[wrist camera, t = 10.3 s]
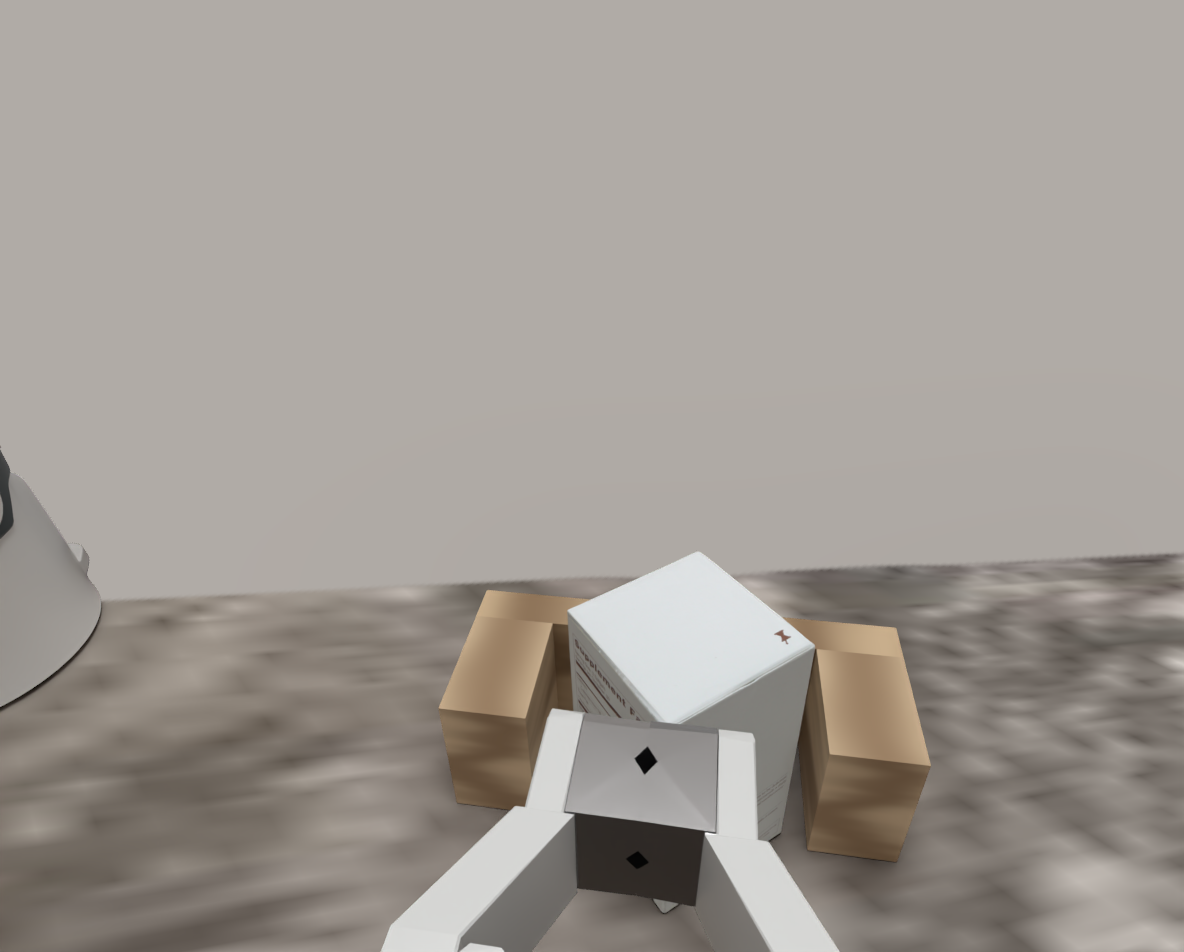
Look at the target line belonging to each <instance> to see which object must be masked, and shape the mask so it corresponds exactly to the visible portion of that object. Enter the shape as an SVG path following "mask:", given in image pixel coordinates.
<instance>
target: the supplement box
mask: <svg viewBox="0 0 1184 952" xmlns="http://www.w3.org/2000/svg"><path fill="white" fill-rule="evenodd" d="M567 616H568V631H569V650H570V664H571V680H572V694H573V711H577V712H584V713H591V714H597V715H604V716H611V717H617V718H624V719H631V720H637V721H644V722H651V721H656V722H665V723H674V724H683V725H693V726H702V727H711V728H717V731H718V730H719V729H721V730H729V731H738V732H747V733H752V734H753V736H754V739H755V752H756V785H757V819H758V840H762V841H767V842H768V841H769V840H770V839H772V838H773V837H775V836H776V835H777V834H779V833H781V831H782V824H783V819H784V813H785V808H786V803H787V797H788V792H789V786H790V781H791V775H792V770H793V765H794V759H795V754H796V749H797V743H798V738H799V732H800V727H801V721H802V716H803V711H804V706H805V700H806V694H807V689H808V684H809V678H810V673H811V667H812V662H813V657H814V651H815V645H814V644H813V643H812V642H810V641H809V640H808V639H807V638H805V637H804V636H803V635H802V634H801V633H800V632H799V631H797V630H796V629H795V628H794V627H793V626H791V625H790V624H789V623H788V622H787V621H785V620H784V619H783V618H782V617H781V616H779V615H778V614H777V613H776V612H774V611H773V610H772V609H771V608H769V607H768V606H767V605H766V604H764V603H763V602H762V601H761V600H760V599H758V598H757V597H756V596H755V595H753V594H752V593H751V592H750V591H748V590H747V589H746V588H745V587H744V586H742V585H741V584H740V583H739V582H737V581H736V580H735V579H734V578H732V577H731V576H730V575H729V574H727V573H726V572H725V571H724V570H722V569H721V568H720V567H719V566H718V565H716V564H715V563H714V562H713V561H711V560H710V559H709V558H707V557H706V556H705V555H703V554H702V553H701V552H695V553H693V554H691V555H688V556H686V557H684V558H682V559H680V560H678V561H675V562H673V563H671V564H669V565H667V566H665V567H662V568H660V569H658V570H656V571H653V572H651V573H649V574H647V575H644V576H642V577H640V578H638V579H636V580H633V581H631V582H629V583H627V584H624V585H622V586H620V587H618V588H616V589H613V590H611V591H609V592H607V593H605V594H602V595H600V596H598V597H595V598H593V599H591V600H589V601H586V602H584V603H582V604H580V605H577V606H575V607H573V608H571V609H569V610H567ZM653 900H654V902H655V903H656V905H657V906H658V907H659V909H660V910H661V911H662V912H663V913H666V912H668V911H669V910H671V909H672V908H673V907H675V906H676V905H678V903H673V902H668V901H662V900H657V899H653Z"/></svg>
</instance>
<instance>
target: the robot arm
mask: <svg viewBox="0 0 1184 952" xmlns="http://www.w3.org/2000/svg"><path fill="white" fill-rule="evenodd" d="M0 448H1V446H0ZM88 566H89V556H88V554H87V553H86V551H85V550H84V548H83V547H82V546H81V545H80V544H77V543H67V542H66V541H65V539H64V537H63V536H62V534H61V533H60V531H59V530H58V528H57V527H56V525H55V524H54V522H53V521H52V519H51V517H50V516H49V515H48V513H47V511H46V510H45V508H44V507H43V506H42V504H41V503H40V501H39V500H38V498H37V497H36V495H35V494H34V492H33V491H32V489H31V488H30V486H29V485H28V484H27V482H26V481H25V480H24V478H22V477H21V476H20V475H18V474H16V473H11V472H10V468H9V466H8V464H7V462H6V460H5V458H4V456H3V454H2V452H1V450H0V707H1V706H3V705H5V704H7V703H9V702H10V701H12V700H14V699H16V698H17V697H19V696H21V695H23V694H24V693H26V692H27V691H29V690H30V689H32V688H34V687H35V686H37V685H38V684H39V683H41V682H42V681H44V680H45V679H46V678H48V677H49V676H50V675H52V674H53V673H54V672H55V671H57V670H58V669H59V668H60V667H61V666H63V665H64V664H65V663H66V662H67V661H68V660H69V659H70V658H71V657H72V656H73V655H74V654H75V653H76V652H77V651H78V650H79V649H80V648H81V646H82V645H83V644H84V643H85V641H86V640H87V639H88V637H89V636H90V634H91V633H92V631H93V629H94V628H95V626H96V624H97V621H98V619H99V616H100V611H101V598H100V595H99V592H98V591H97V589H96V587H95V586H94V585H93V584H92V582H91V581H90V580H89V579H88V576H87V571H88ZM577 888H579V889H586V890H594V891H602V892H610V893H618V894H626V895H634V896H640V897H646V898H651V899H657V900H662V901H668V902H673V903H678V904H684V905H689V906H695V911H696V913H697V915H698V917H699V920H700V922H701V924H702V926H703V928H704V930H705V933H706V935H707V937H708V939H709V941H710V944H711V946H712V948H713V950H714V952H840V951H839V950H838V948H837V947H836V945H835V944H834V942H833V941H832V939H831V937H830V936H829V934H828V933H827V931H826V930H825V928H824V927H823V925H822V924H821V922H820V920H819V919H818V917H817V916H816V914H815V913H814V911H813V910H812V908H811V906H810V905H809V903H808V902H807V900H806V899H805V897H804V896H803V894H802V893H801V891H800V889H799V888H798V886H797V885H796V883H795V882H794V880H793V879H792V877H791V875H790V874H789V872H788V871H787V869H786V868H785V866H784V865H783V863H782V861H781V860H780V858H779V857H778V855H777V854H776V852H775V851H774V849H773V848H772V846H771V844H770V843H769V842H767V841H762V840H758V819H757V785H756V752H755V739H754V736H753V734H752V733H747V732H738V731H729V730H721V729H719V730H718V731H717V728H711V727H702V726H693V725H683V724H674V723H665V722H656V721H651V722H644V721H637V720H631V719H624V718H617V717H611V716H604V715H597V714H591V713H584V712H577V711H569V710H561V709H553V708H552V710H551V712H550V714H549V716H548V718H547V721H546V725H545V729H544V733H543V737H542V741H541V745H540V749H539V753H538V757H537V761H536V765H535V769H534V773H533V776H532V780H531V784H530V788H529V792H528V796H527V800H526V804H525V807H520V806H514V807H513V808H512V809H511V810H510V811H509V812H508V813H507V814H506V815H505V816H504V817H503V818H502V819H501V820H500V821H499V822H498V823H497V824H496V825H495V826H494V827H493V828H492V829H491V830H489V831H488V832H487V833H486V834H485V835H484V836H483V837H482V838H481V839H480V840H479V841H478V842H477V843H476V844H475V845H474V846H473V847H472V848H471V849H470V850H469V851H468V852H467V853H466V854H465V855H463V856H462V857H461V858H460V859H459V860H458V861H457V862H456V863H455V864H454V865H453V866H452V867H451V868H450V869H449V870H448V871H447V872H446V873H445V874H444V875H443V876H442V877H441V878H440V879H439V880H438V881H436V882H435V883H434V884H433V885H432V886H431V887H430V888H429V889H428V890H427V891H426V892H425V893H424V894H423V895H422V896H421V897H420V898H419V899H418V900H417V901H416V902H415V903H414V904H413V905H412V906H411V907H409V908H408V909H407V910H406V911H405V912H404V913H403V914H402V915H401V916H400V917H399V918H398V919H397V920H396V921H395V922H394V923H393V924H392V925H391V926H390V929H389V931H388V934H387V937H386V940H385V942H384V945H383V948H382V950H381V952H532V950H533V949H534V948H535V947H536V945H537V944H538V943H539V941H540V940H541V939H542V937H543V936H544V935H545V934H546V932H547V931H548V930H549V928H550V927H551V926H552V924H553V923H554V922H555V921H556V919H557V918H558V917H559V915H560V914H561V913H562V911H563V910H564V909H565V908H566V906H567V905H568V904H569V902H570V901H571V900H572V899H573V897H574V896H575V895H576V893H577Z"/></svg>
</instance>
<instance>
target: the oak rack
mask: <svg viewBox="0 0 1184 952" xmlns="http://www.w3.org/2000/svg"><path fill="white" fill-rule="evenodd" d="M586 601H589V599H578V598H567V597H556V596H546V595H535V594H524V593H513V592H502V591H491V590H487V592H486V594H485V596H484V599H483V601H482V604H481V606H480V609H479V611H478V613H477V616H476V618H475V621H474V623H473V626H472V628H471V630H470V633H469V635H468V638H467V640H466V643H465V645H464V647H463V650H462V652H461V655H460V657H459V660H458V662H457V665H456V667H455V669H454V672H453V674H452V677H451V679H450V682H449V684H448V686H447V689H446V691H445V694H444V696H443V699H442V701H441V703H440V706H439V714H440V719H441V724H442V729H443V734H444V739H445V744H446V749H447V755H448V760H449V765H450V770H451V775H452V780H453V785H454V790H455V796H456V801H457V803H462V804H470V805H477V806H484V807H492V808H499V809H507V810H511V809H512V808H513V807H514V806H520V807H525V804H526V800H527V796H528V792H529V788H530V784H531V780H532V776H533V773H534V769H535V765H536V761H537V757H538V753H539V749H540V745H541V741H542V737H543V733H544V729H545V725H546V721H547V718H548V716H549V714H550V712H551V710H552V708H553V709H561V710H569V711H573V694H572V680H571V664H570V650H569V631H568V616H567V610H569V609H571V608H573V607H575V606H577V605H580V604H582V603H584V602H586ZM782 618H783V617H782ZM783 619H784V620H785V621H787V622H788V623H789V624H790V625H791V626H793V627H794V628H795V629H796V630H797V631H799V632H800V633H801V634H802V635H803V636H804V637H805V638H807V639H808V640H809V641H810V642H812V643H813V644H814V645H815V651H814V657H813V662H812V667H811V673H810V678H809V684H808V689H807V694H806V700H805V706H804V711H803V716H802V721H801V727H800V732H799V738H798V747H799V759H800V771H801V783H802V795H803V807H804V818H805V830H806V842H807V850H810V851H817V852H825V853H832V854H840V855H847V856H854V857H862V858H869V859H877V860H884V861H891V862H897V860H898V857H899V855H900V852H901V849H902V846H903V843H904V840H905V838H906V835H907V832H908V829H909V826H910V823H911V821H912V818H913V815H914V812H915V809H916V806H917V804H918V801H919V798H920V795H921V792H922V789H923V787H924V784H925V781H926V778H927V775H928V772H929V770H930V767H931V765H930V761H929V757H928V753H927V749H926V745H925V741H924V737H923V733H922V729H921V725H920V721H919V717H918V713H917V709H916V705H915V701H914V697H913V693H912V689H911V685H910V682H909V678H908V674H907V670H906V666H905V662H904V658H903V654H902V650H901V646H900V642H899V638H898V634H897V630H896V628H891V627H881V626H870V625H859V624H848V623H837V622H827V621H816V620H805V619H794V618H783Z"/></svg>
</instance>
